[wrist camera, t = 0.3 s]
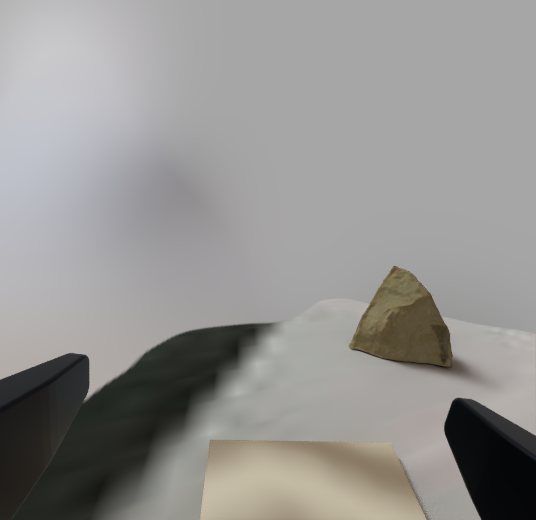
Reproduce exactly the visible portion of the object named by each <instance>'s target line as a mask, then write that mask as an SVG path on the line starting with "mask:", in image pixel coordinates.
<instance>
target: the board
mask: <svg viewBox="0 0 536 520" xmlns="http://www.w3.org/2000/svg"><path fill="white" fill-rule="evenodd" d="M200 520H427V519H426V517H425V515H424V513H423V511H422V509H421V506H420V504H419V502H418V500H417V498H416V496H415V493H414V491H413V489H412V487H411V485H410V483H409V481H408V478H407V476H406V474H405V472H404V470H403V468H402V466H401V463H400V461H399V459H398V457H397V455H396V453H395V450H394V448H393V446H392V444H391V443H368V442H308V441H248V440H210V443H209V451H208V459H207V467H206V475H205V483H204V491H203V499H202V507H201V515H200Z"/></svg>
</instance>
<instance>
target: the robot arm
mask: <svg viewBox="0 0 536 520" xmlns="http://www.w3.org/2000/svg"><path fill="white" fill-rule="evenodd" d="M88 389H89V358H88V357H87V356H86V355H83V354H74V353H69V354H66V355H63V356H60V357H58V358H55V359H53V360H50V361H47V362H45V363H42V364H40V365H37V366H35V367H32V368H29V369H27V370H24V371H22V372H19V373H17V374H14V375H11V376H9V377H6V378H4V379H1V380H0V520H12V518H13V517H14V515H15V514H16V512H17V511H18V509H19V508H20V506H21V505H22V503H23V502H24V500H25V499H26V497H27V496H28V494H29V493H30V491H31V490H32V488H33V487H34V485H35V484H36V482H37V481H38V479H39V478H40V476H41V475H42V473H43V472H44V470H45V469H46V467H47V466H48V464H49V463H50V461H51V459H52V458H53V456H54V454H55V453H56V451H57V449H58V447H59V445H60V444H61V442H62V440H63V438H64V436H65V434H66V432H67V431H68V429H69V427H70V425H71V423H72V421H73V419H74V418H75V416H76V414H77V412H78V410H79V408H80V406H81V405H82V403H83V401H84V399H85V397H86V395H87V393H88ZM444 431H445V435H446V438H447V441H448V443H449V446H450V448H451V450H452V453H453V455H454V458H455V460H456V463H457V465H458V468H459V470H460V473H461V475H462V478H463V480H464V483H465V485H466V488H467V490H468V492H469V495H470V497H471V499H472V502H473V504H474V506H475V508H476V510H477V512H478V514H479V516H480V518H481V520H536V436H535V435H533V434H532V433H530V432H528V431H526V430H525V429H523V428H521V427H519V426H518V425H516V424H514V423H513V422H511V421H509V420H507V419H506V418H504V417H502V416H500V415H499V414H497V413H495V412H494V411H492V410H490V409H488V408H487V407H485V406H483V405H481V404H480V403H478V402H476V401H474V400H472V399H464V398H456V399H454V400H453V402H452V404H451V407H450V410H449V413H448V416H447V418H446V421H445V425H444Z"/></svg>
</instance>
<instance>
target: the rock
mask: <svg viewBox="0 0 536 520" xmlns="http://www.w3.org/2000/svg"><path fill="white" fill-rule="evenodd" d="M349 347H350V349H353V350H355V349H357V350H361V351H364V352H367V353H370V354H372V355H374V356H378V357H381V358H385V359H391V360H396V361H410V362H416V363H431V364H434V365H440V366H447V367H451V360H452V351H451V344H450V333H449V330H448V327H447V326H446V324H445V323H444V321H443V319H442V318H441V316H440V313H439V311H438V309H437V307H436V305H435V303H434V301H433V298H432V296H431V294H430V293H429V292H428V291H427V289H426V288H425V287H424V286H423V285H422V284H421V283H420V282H419V281H418V280H417V278H416V277H415V276H414V275H413V274H412V273H410V272H409V271H407V270H404V269H400V268H398V267H396V266H394V267H393V268H392V269H391V271H390V273H389V274H388V275H387V277H386V278H385V279H384V281H383V283H382V284H381V286H380V287H379V288H378V290H377V292H376V294H375V296H374V298H373V300H372V301H371V302H370V305H369V307H368V308H367V309H366V311H365V313H364V314H363V315H362V318H361V320H360V322H359V325H358V327H357V330H356V332H355V334H354V336H353V339H352V341H351V343H350V345H349Z"/></svg>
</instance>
